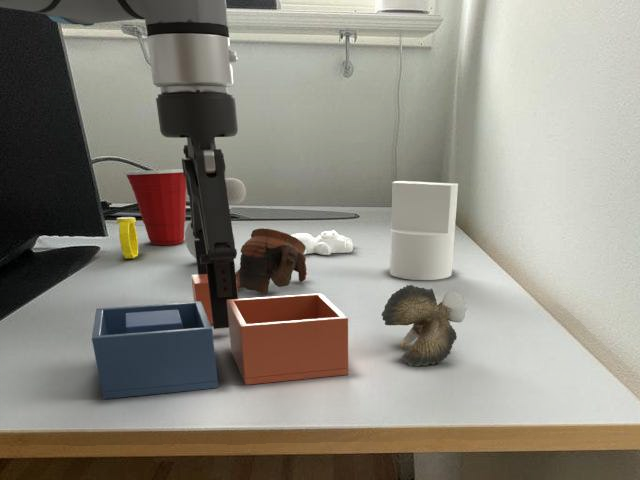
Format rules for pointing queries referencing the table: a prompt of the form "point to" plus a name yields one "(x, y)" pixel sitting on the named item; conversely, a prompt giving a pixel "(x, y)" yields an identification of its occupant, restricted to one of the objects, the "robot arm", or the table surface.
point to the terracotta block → (203, 293)
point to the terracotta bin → (287, 338)
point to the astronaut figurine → (325, 243)
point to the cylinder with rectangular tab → (422, 229)
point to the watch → (128, 236)
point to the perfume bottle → (235, 196)
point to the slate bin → (154, 353)
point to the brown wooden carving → (270, 260)
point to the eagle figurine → (425, 322)
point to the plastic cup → (161, 203)
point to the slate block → (153, 321)
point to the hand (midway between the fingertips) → (219, 311)
